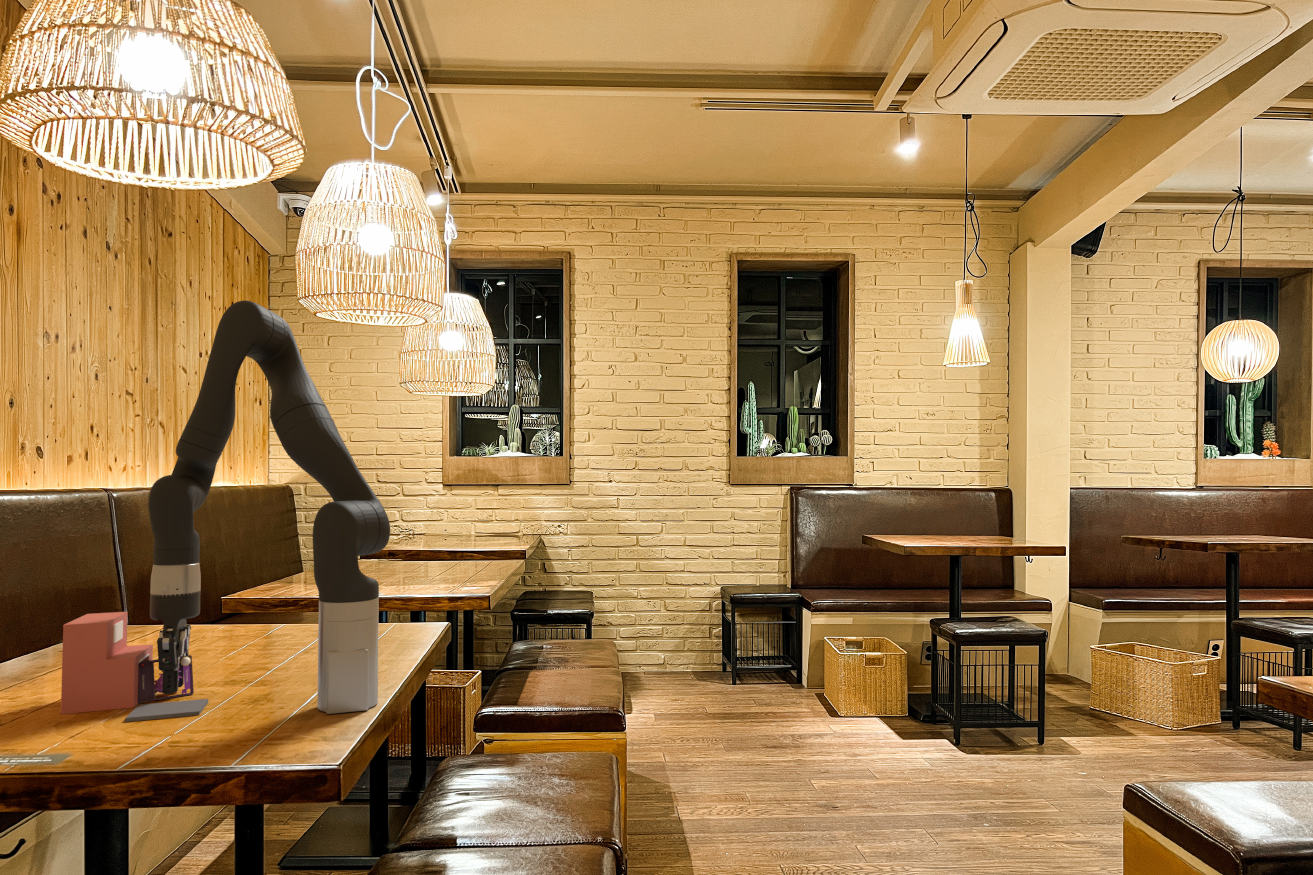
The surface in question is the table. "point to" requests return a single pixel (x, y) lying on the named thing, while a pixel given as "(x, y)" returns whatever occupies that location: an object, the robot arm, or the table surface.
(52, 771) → the table surface
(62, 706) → the dispenser
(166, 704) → the mat
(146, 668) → the boxed purple toy
